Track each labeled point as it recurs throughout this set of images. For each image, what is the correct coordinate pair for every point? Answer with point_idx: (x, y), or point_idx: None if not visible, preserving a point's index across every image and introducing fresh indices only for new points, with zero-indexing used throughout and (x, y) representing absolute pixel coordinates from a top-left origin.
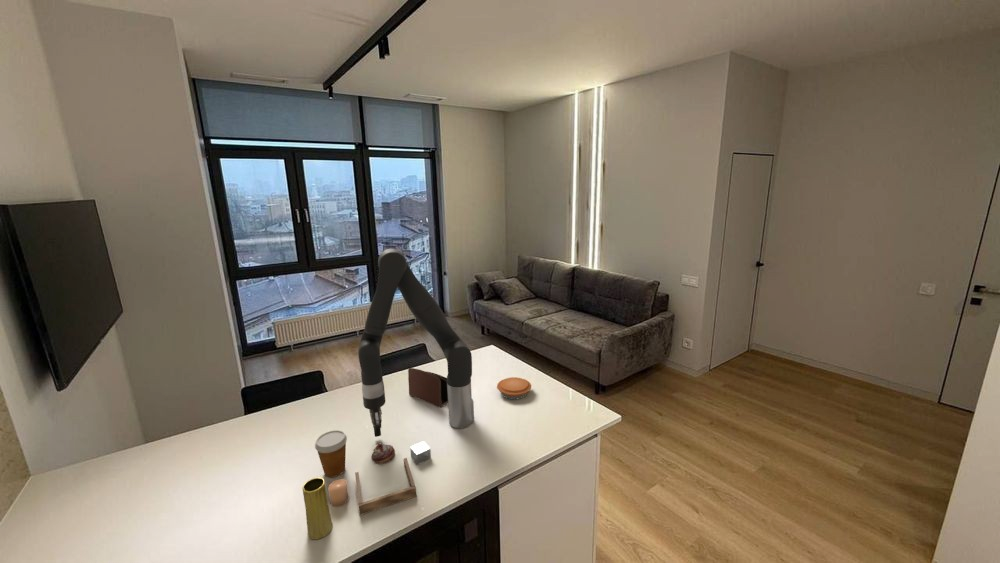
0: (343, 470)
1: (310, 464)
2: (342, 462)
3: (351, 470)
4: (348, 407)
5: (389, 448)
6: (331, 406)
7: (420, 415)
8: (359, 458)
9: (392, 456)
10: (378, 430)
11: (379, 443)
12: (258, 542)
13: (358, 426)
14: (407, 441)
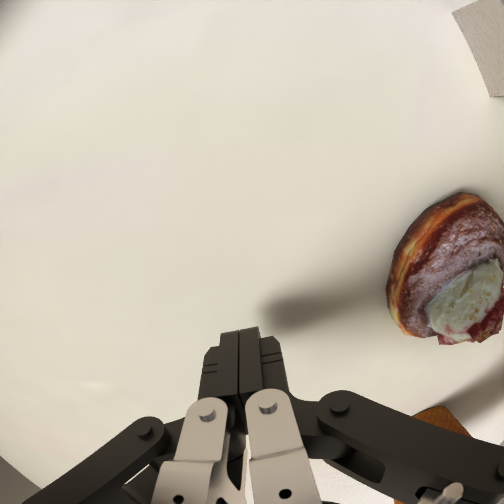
0: (443, 409)
1: (339, 487)
2: (468, 435)
3: (452, 383)
4: (3, 419)
5: (492, 238)
6: (19, 450)
7: (14, 40)
8: (400, 382)
9: (493, 209)
10: (286, 381)
11: (490, 329)
12: (501, 437)
13: (100, 417)
14: (343, 80)
